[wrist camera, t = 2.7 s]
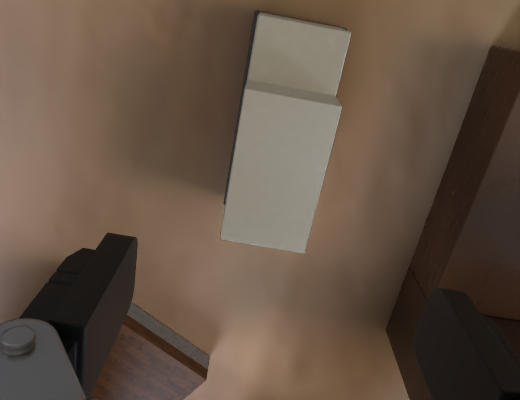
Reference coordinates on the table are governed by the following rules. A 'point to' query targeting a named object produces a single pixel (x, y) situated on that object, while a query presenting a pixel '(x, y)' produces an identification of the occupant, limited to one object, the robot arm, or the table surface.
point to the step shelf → (471, 220)
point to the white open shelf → (150, 362)
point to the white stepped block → (283, 131)
